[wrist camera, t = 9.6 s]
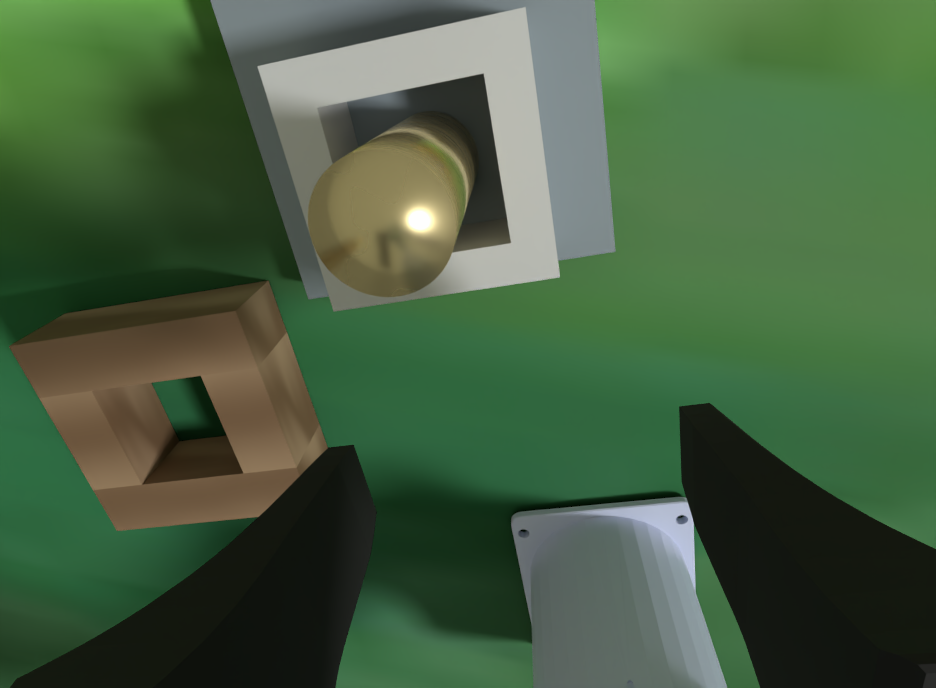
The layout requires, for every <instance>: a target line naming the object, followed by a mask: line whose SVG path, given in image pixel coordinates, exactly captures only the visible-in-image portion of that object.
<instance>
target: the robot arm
mask: <svg viewBox="0 0 936 688" xmlns="http://www.w3.org/2000/svg"><path fill="white" fill-rule="evenodd" d="M679 412H680V443H681V474H682V484H683V488H684V491H685V495H686V498H685V497H672V498H661V499H651V500H640V501H629V502H618V503H608V504H597V505H586V506H576V507H565V508H554V509H544V510H533V511H522V512H517V513H515V514H514V515H513V516H512V518H511V527H512V532H513V537H514V542H515V547H516V552H517V556H518V561H519V566H520V571H521V576H522V581H523V586H524V591H525V596H526V600H527V605H528V610H529V615H530V620H531V625H532V652H533V688H727V685H726V682H725V679H724V676H723V673H722V670H721V667H720V664H719V661H718V658H717V655H716V652H715V649H714V646H713V643H712V640H711V637H710V634H709V631H708V628H707V625H706V622H705V619H704V616H703V613H702V610H701V607H700V604H699V601H698V598H697V595H696V591H695V557H694V525H695V527H696V529H697V532H698V534H699V536H700V539H701V541H702V543H703V545H704V548H705V550H706V552H707V555H708V557H709V559H710V561H711V564H712V566H713V568H714V570H715V573H716V575H717V577H718V579H719V582H720V584H721V586H722V588H723V591H724V593H725V595H726V597H727V600H728V602H729V604H730V606H731V609H732V611H733V613H734V615H735V618H736V620H737V622H738V625H739V628H740V630H741V633H742V635H743V638H744V640H745V643H746V646H747V649H748V652H749V655H750V658H751V661H752V664H753V667H754V670H755V673H756V676H757V679H758V682H759V685H760V688H936V549H934V548H932V547H930V546H928V545H926V544H924V543H922V542H919V541H917V540H915V539H913V538H911V537H909V536H907V535H905V534H903V533H901V532H899V531H897V530H895V529H893V528H891V527H889V526H887V525H885V524H883V523H881V522H879V521H877V520H875V519H873V518H871V517H870V516H868V515H866V514H864V513H863V512H861V511H859V510H857V509H856V508H854V507H852V506H850V505H849V504H847V503H845V502H843V501H842V500H840V499H838V498H836V497H835V496H833V495H832V494H830V493H828V492H827V491H825V490H823V489H822V488H820V487H819V486H817V485H816V484H814V483H813V482H811V481H810V480H808V479H807V478H805V477H804V476H802V475H801V474H799V473H798V472H796V471H795V470H794V469H792V468H791V467H789V466H788V465H787V464H785V463H784V462H783V461H781V460H780V459H779V458H777V457H776V456H775V455H773V454H772V453H771V452H769V451H768V450H767V449H765V448H764V447H763V446H761V445H760V444H759V443H758V442H756V441H755V440H754V439H753V438H751V437H750V436H749V435H748V434H747V433H745V432H744V431H743V430H742V429H740V428H739V427H738V426H737V425H736V424H734V423H733V422H732V421H731V420H730V419H728V418H727V417H726V416H725V415H724V414H722V413H721V412H720V411H719V410H718V409H716V408H715V407H714V406H713V405H711V404H710V403H706V404H697V405H689V406H680V407H679ZM376 514H377V512H376V509H375V506H374V503H373V500H372V497H371V494H370V491H369V488H368V485H367V483H366V480H365V477H364V474H363V471H362V468H361V465H360V462H359V459H358V456H357V453H356V451H355V448H354V445H348V446H339V447H331V448H328V449H327V450H325V451H324V452H323V453H322V454H321V455H320V456H319V457H318V458H317V459H316V460H315V461H314V462H313V463H312V464H311V465H310V466H309V467H308V468H307V469H306V470H305V471H304V472H303V473H302V474H301V475H300V476H299V477H298V478H297V479H296V480H295V481H294V482H293V483H292V484H291V485H290V486H289V487H288V488H287V489H286V490H285V492H284V493H283V494H282V495H281V496H280V497H279V498H278V499H277V500H276V501H275V502H274V503H273V504H272V505H271V506H270V507H269V508H268V509H266V510H265V511H264V512H263V513H262V514H261V515H260V516H259V517H258V518H257V519H256V520H255V521H254V522H253V523H251V524H250V525H249V526H248V527H247V528H246V529H245V530H244V531H243V532H242V533H241V534H240V535H239V536H237V537H236V538H235V539H234V540H233V541H232V542H231V543H230V544H228V545H227V546H226V547H225V548H224V549H222V550H221V551H220V552H219V553H218V554H217V555H215V556H214V557H213V558H212V559H210V560H209V561H208V562H206V563H205V564H204V565H203V566H201V567H200V568H199V569H198V570H196V571H195V572H194V573H192V574H191V575H190V576H188V577H187V578H186V579H184V580H183V581H181V582H180V583H179V584H177V585H176V586H174V587H173V588H171V589H170V590H169V591H167V592H166V593H164V594H163V595H161V596H160V597H159V598H157V599H156V600H154V601H153V602H151V603H150V604H148V605H147V606H146V607H144V608H142V609H141V610H139V611H138V612H136V613H135V614H133V615H131V616H130V617H128V618H127V619H125V620H123V621H122V622H120V623H119V624H117V625H115V626H114V627H112V628H110V629H109V630H107V631H105V632H103V633H102V634H100V635H98V636H97V637H95V638H93V639H92V640H90V641H88V642H86V643H84V644H83V645H81V646H79V647H77V648H75V649H73V650H72V651H70V652H68V653H66V654H64V655H62V656H60V657H58V658H56V659H54V660H53V661H51V662H49V663H47V664H45V665H43V666H41V667H39V668H37V669H35V670H33V671H32V672H30V673H28V674H25V675H23V676H21V677H19V678H17V679H16V680H15V682H14V683H13V684H12V686H11V687H10V688H335V686H336V680H337V675H338V670H339V665H340V661H341V657H342V653H343V649H344V645H345V642H346V638H347V635H348V631H349V628H350V624H351V621H352V617H353V614H354V611H355V607H356V604H357V600H358V597H359V593H360V590H361V587H362V583H363V580H364V576H365V572H366V569H367V565H368V562H369V558H370V554H371V549H372V542H373V536H374V529H375V521H376ZM680 515H685V516H684V517H682V518H677V517H678V516H680ZM693 521H694V524H693ZM522 529H525V530H527V531H525V532H522V531H520V530H522Z"/></svg>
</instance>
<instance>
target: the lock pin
mask: <svg viewBox="0 0 936 688" xmlns="http://www.w3.org/2000/svg"><path fill="white" fill-rule="evenodd" d="M478 167H479V155H478V149H477V146H476V143H475V141H474V139H473V137H472V135H471V133H470V132H469V130H468V129H467V128H466V127H465V126H464V125H463V124H462V123H461V122H460V121H458V120H457V119H456V118H454V117H452V116H450V115H448V114H445V113H441V112H436V111H425V112H420V113H417V114H414V115H412V116H410V117H408V118H406V119H405V120H403V121H401V122H400V123H398V124H397V125H395V126H393V127H392V128H390V129H388V130H387V131H385V132H383V133H382V134H380V135H378V136H377V137H375V138H374V139H372V140H370V141H369V142H367V143H365V144H364V145H362V146H360V147H359V148H357V149H355V150H354V151H352V152H351V153H349V154H347V155H346V156H344V157H342V158H341V159H339V160H338V161H336V162H335V163H334V164H332V165H331V166H330V167H329V168H328V169H327V170H326V171H325V172H324V173H323V174H322V176H321V177H320V178H319V180H318V181H317V183H316V185H315V187H314V189H313V192H312V194H311V197H310V201H309V206H308V228H309V233H310V237H311V240H312V244H313V246H314V248H315V250H316V253H317V254H318V256H319V258H320V259H321V261H322V262H323V264H324V265H325V266H326V268H327V269H328V270H329V271H330V272H331V273H332V274H333V275H334V276H335V277H336V278H338V279H339V280H340V281H341V282H343V283H344V284H346V285H347V286H349V287H351V288H353V289H355V290H357V291H359V292H362V293H365V294H368V295H373V296H378V297H398V296H404V295H407V294H411V293H414V292H416V291H418V290H421V289H422V288H424V287H425V286H427V285H429V284H430V283H431V282H432V281H434V280H435V279H436V278H437V277H438V276H439V275H440V273H441V272H442V271H443V269H444V268H445V267H446V265H447V263H448V261H449V259H450V257H451V255H452V252H453V249H454V246H455V242H456V239H457V236H458V233H459V230H460V227H461V224H462V220H463V217H464V214H465V211H466V208H467V205H468V202H469V198H470V195H471V192H472V189H473V186H474V183H475V180H476V176H477V173H478Z"/></svg>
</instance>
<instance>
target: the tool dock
mask: <svg viewBox="0 0 936 688" xmlns="http://www.w3.org/2000/svg"><path fill="white" fill-rule="evenodd" d="M210 1H211V4H212V7H213V10H214V13H215V16H216V19H217V22H218V25H219V28H220V31H221V34H222V37H223V40H224V43H225V46H226V49H227V52H228V55H229V59H230V62H231V65H232V68H233V71H234V74H235V77H236V80H237V83H238V86H239V89H240V92H241V95H242V98H243V101H244V104H245V107H246V110H247V113H248V116H249V119H250V122H251V126H252V129H253V132H254V135H255V138H256V141H257V144H258V147H259V150H260V153H261V156H262V159H263V162H264V165H265V168H266V171H267V174H268V177H269V180H270V183H271V186H272V190H273V193H274V196H275V199H276V202H277V205H278V208H279V211H280V214H281V217H282V220H283V223H284V226H285V229H286V232H287V235H288V238H289V241H290V244H291V247H292V250H293V253H294V257H295V260H296V263H297V266H298V269H299V272H300V275H301V278H302V281H303V284H304V287H305V290H306V293H307V296H308V299H314V298H320V297H327V296H329V298H330V301H331V304H332V307H333V311H340V310H347V309H353V308H360V307H367V306H373V305H380V304H386V303H393V302H400V301H406V300H413V299H419V298H426V297H433V296H439V295H446V294H453V293H459V292H466V291H472V290H479V289H486V288H492V287H499V286H505V285H512V284H519V283H525V282H532V281H538V280H545V279H552V278H558V277H560V273H559V265H558V260H565V259H571V258H578V257H584V256H590V255H597V254H603V253H610V252H615V242H614V230H613V218H612V206H611V193H610V181H609V169H608V157H607V145H606V133H605V121H604V109H603V97H602V85H601V73H600V61H599V49H598V37H597V25H596V13H595V1H594V0H210ZM425 111H436V112H441V113H445V114H448V115H450V116H452V117H454V118H456V119H457V120H458V121H460V122H461V123H462V124H463V125H464V126H465V127H466V128H467V129H468V130H469V132H470V133H471V135H472V137H473V139H474V141H475V143H476V146H477V149H478V155H479V167H478V173H477V176H476V180H475V183H474V186H473V189H472V192H471V195H470V198H469V202H468V205H467V208H466V211H465V214H464V217H463V220H462V224H461V227H460V230H459V233H458V236H457V239H456V242H455V246H454V249H453V252H452V255H451V257H450V259H449V261H448V263H447V265H446V267H445V268H444V269H443V271H442V272H441V273H440V275H439V276H438V277H437V278H436V279H435V280H434V281H432V282H431V283H430V284H429V285H427V286H425V287H424V288H422V289H421V290H418V291H416V292H414V293H411V294H407V295H404V296H398V297H378V296H373V295H368V294H365V293H362V292H359V291H357V290H355V289H353V288H351V287H349V286H347V285H346V284H344V283H343V282H341V281H340V280H339V279H338V278H336V277H335V276H334V275H333V274H332V273H331V272H330V271H329V270H328V269H327V268H326V266H325V265H324V264H323V262H322V261H321V259H320V258H319V256H318V254H317V253H316V250H315V248H314V246H313V244H312V240H311V237H310V233H309V228H308V206H309V201H310V197H311V194H312V192H313V189H314V187H315V185H316V183H317V181H318V180H319V178H320V177H321V176H322V174H323V173H324V172H325V171H326V170H327V169H328V168H329V167H330V166H331V165H332V164H334V163H335V162H336V161H338V160H339V159H341V158H342V157H344V156H346V155H347V154H349V153H351V152H352V151H354V150H355V149H357V148H359V147H360V146H362V145H364V144H365V143H367V142H369V141H370V140H372V139H374V138H375V137H377V136H378V135H380V134H382V133H383V132H385V131H387V130H388V129H390V128H392V127H393V126H395V125H397V124H398V123H400V122H401V121H403V120H405V119H406V118H408V117H410V116H412V115H414V114H417V113H420V112H425Z"/></svg>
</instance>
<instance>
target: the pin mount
mask: <svg viewBox="0 0 936 688" xmlns="http://www.w3.org/2000/svg"><path fill="white" fill-rule="evenodd" d="M9 347H10V349H11V351H12V352H13V354H14V356H15V358H16V359H17V361H18V363H19V364H20V366H21V368H22V370H23V371H24V373H25V375H26V376H27V378H28V380H29V381H30V383H31V385H32V387H33V388H34V390H35V392H36V393H37V395H38V397H39V398H40V400H41V402H42V404H43V405H44V407H45V409H46V410H47V412H48V414H49V416H50V417H51V419H52V421H53V422H54V424H55V426H56V427H57V429H58V431H59V433H60V434H61V436H62V438H63V439H64V441H65V443H66V445H67V446H68V448H69V450H70V451H71V453H72V455H73V456H74V458H75V460H76V462H77V463H78V465H79V467H80V468H81V470H82V472H83V474H84V475H85V477H86V479H87V480H88V482H89V484H90V485H91V487H92V489H93V491H94V492H95V494H96V496H97V497H98V499H99V501H100V503H101V504H102V506H103V508H104V509H105V511H106V513H107V514H108V516H109V518H110V520H111V521H112V523H113V525H114V526H115V528H116V530H117V531H121V530H131V529H141V528H151V527H161V526H171V525H181V524H191V523H202V522H212V521H222V520H232V519H242V518H252V517H259V516H260V515H261V514H262V513H263V512H264V511H265V510H266V509H268V508H269V507H270V506H271V505H272V504H273V503H274V502H275V501H276V500H277V499H278V498H279V497H280V496H281V495H282V494H283V493H284V492H285V490H286V489H287V488H288V487H289V486H290V485H291V484H292V483H293V482H294V481H295V480H296V479H297V478H298V477H299V476H300V475H301V474H302V473H303V472H304V471H305V470H306V469H307V468H308V467H309V466H310V465H311V464H312V463H313V462H314V461H315V460H316V459H317V458H318V457H319V456H320V455H321V454H322V453H323V452H324V451H325V450H327V449H328V447H327V444H326V441H325V438H324V436H323V433H322V430H321V427H320V424H319V422H318V419H317V416H316V413H315V410H314V407H313V405H312V402H311V399H310V396H309V393H308V390H307V388H306V385H305V382H304V379H303V376H302V374H301V371H300V368H299V365H298V362H297V359H296V357H295V354H294V351H293V348H292V345H291V343H290V340H289V337H288V334H287V331H286V328H285V326H284V323H283V320H282V317H281V314H280V312H279V309H278V306H277V303H276V300H275V297H274V295H273V292H272V289H271V286H270V283H269V281H263V282H257V283H250V284H244V285H238V286H232V287H226V288H220V289H213V290H207V291H201V292H195V293H189V294H183V295H176V296H170V297H164V298H158V299H152V300H146V301H139V302H133V303H127V304H121V305H115V306H109V307H102V308H96V309H90V310H84V311H78V312H72V313H66V314H63V315H62V316H60V317H58V318H57V319H55V320H53V321H51V322H50V323H48V324H46V325H45V326H43V327H41V328H39V329H38V330H36V331H34V332H32V333H31V334H29V335H27V336H26V337H24V338H22V339H20V340H19V341H17V342H15V343H13V344H12V345H10V346H9ZM196 376H201V378H202V380H203V382H204V385H205V387H206V389H207V391H208V394H209V396H210V398H211V401H212V403H213V405H214V407H215V410H216V412H217V414H218V416H219V419H220V421H221V423H222V426H223V428H224V430H225V432H226V435H227V436H219V437H211V438H202V439H194V440H186V441H179V439H178V437H177V435H176V433H175V431H174V429H173V427H172V425H171V423H170V421H169V419H168V416H167V414H166V412H165V410H164V408H163V406H162V404H161V402H160V400H159V398H158V396H157V394H156V392H155V390H154V388H153V385H152V383H153V382H160V381H167V380H174V379H181V378H189V377H196Z"/></svg>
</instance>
